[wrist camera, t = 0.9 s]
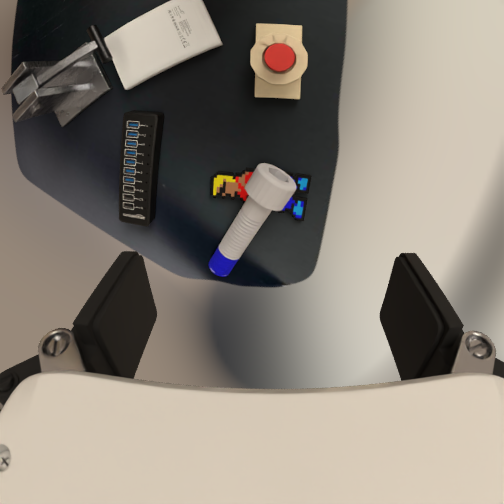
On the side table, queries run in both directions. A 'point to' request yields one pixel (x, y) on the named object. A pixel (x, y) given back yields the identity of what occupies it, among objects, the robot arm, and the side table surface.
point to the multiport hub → (139, 166)
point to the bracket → (61, 89)
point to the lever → (64, 65)
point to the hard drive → (161, 40)
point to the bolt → (252, 214)
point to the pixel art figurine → (235, 187)
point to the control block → (273, 81)
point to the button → (279, 57)
